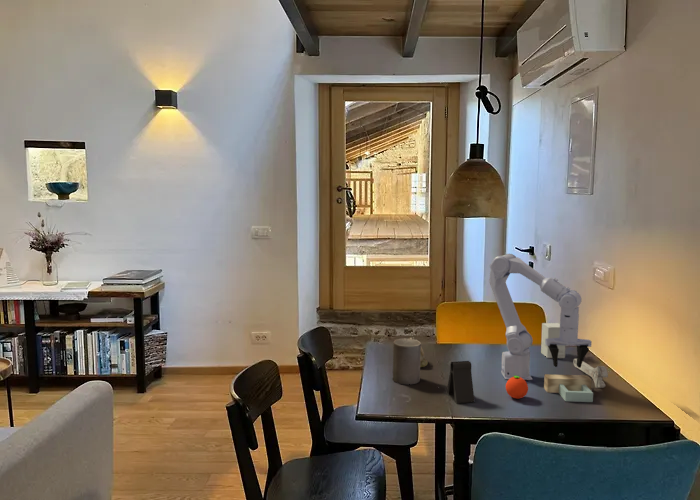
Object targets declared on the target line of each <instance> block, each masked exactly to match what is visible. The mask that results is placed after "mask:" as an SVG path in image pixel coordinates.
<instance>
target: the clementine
mask: <svg viewBox="0 0 700 500" xmlns="http://www.w3.org/2000/svg"><path fill="white" fill-rule="evenodd" d="M505 390H506V393H507V394H508V395H509V397H511V398H513V399H515V400H516V399H517V400H518V399H523V398H524V397H525V396H527V394H528V391H529V385H528V382H527V380H524V379H523V378H521V377H519V376H513V377H512V378H510V379H507V382H506V383H505Z"/></svg>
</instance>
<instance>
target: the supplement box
mask: <svg viewBox="0 0 700 500" xmlns="http://www.w3.org/2000/svg"><path fill="white" fill-rule="evenodd" d="M559 334H560V322H542V323H541V342H540V344H541V346H540V347H541V348H540V353H541V354H542V355H543V356H544V357H545V356H546V357H545V358H547V359H553V358H552V355H551V352H550V349H549V347H548V346H547V345H546V344H545V339H550V338H559ZM557 346H558V349H559V352H558V359H565V358H566V346H564V345H557Z"/></svg>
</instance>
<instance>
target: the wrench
mask: <svg viewBox="0 0 700 500" xmlns="http://www.w3.org/2000/svg"><path fill="white" fill-rule="evenodd" d="M573 366H574V367H575V368H577V369H578V370H580V371H581V372H583V373H585V375H588V376H589V377H590V378H591V379H592V380H593V382H594V387H595V389H602V388H605V387H606V384H605V382H604V381H603V379H604V378H608V377H609V374H608V370H607V369H606V367H605V366H604V365H597V366H596V367H594V366H591V365H590V364H588V363H587V362H585V361H584V360H583V361H582V364H581V368H579V367H578V366H577V358H573Z"/></svg>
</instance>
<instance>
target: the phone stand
mask: <svg viewBox="0 0 700 500" xmlns="http://www.w3.org/2000/svg"><path fill="white" fill-rule="evenodd" d="M449 365H450V368H449V370H450V371H449V375H448V381H447V388H446V395H447V396H448V397H449V398H450V399H451V400H452V401H453V402H454V403H455V404H457V405H458V404H470V403H475V401H476V400H475V393H474V383H473V377H472V363H471V361H470V360H460V361H451V362H450V364H449Z"/></svg>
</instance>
